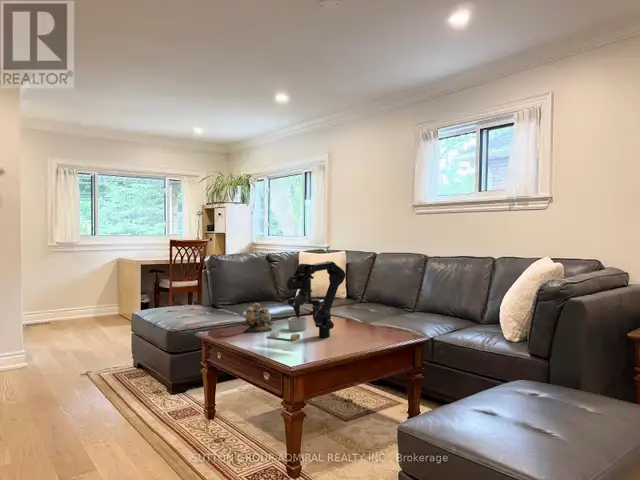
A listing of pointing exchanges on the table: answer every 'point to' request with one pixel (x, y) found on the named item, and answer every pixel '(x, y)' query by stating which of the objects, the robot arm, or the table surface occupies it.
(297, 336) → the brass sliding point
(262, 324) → the owl figurine
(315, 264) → the robot arm
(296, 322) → the grey rounded container
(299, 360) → the table surface
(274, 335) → the block
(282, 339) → the plate
